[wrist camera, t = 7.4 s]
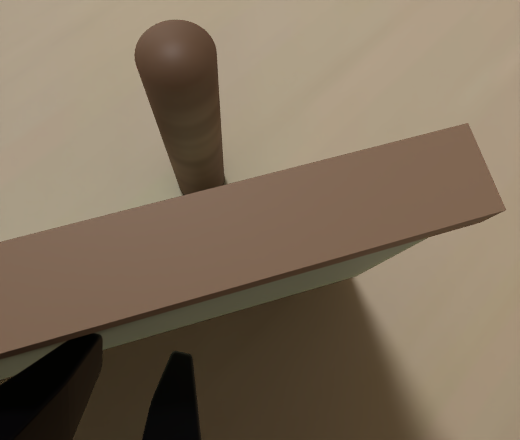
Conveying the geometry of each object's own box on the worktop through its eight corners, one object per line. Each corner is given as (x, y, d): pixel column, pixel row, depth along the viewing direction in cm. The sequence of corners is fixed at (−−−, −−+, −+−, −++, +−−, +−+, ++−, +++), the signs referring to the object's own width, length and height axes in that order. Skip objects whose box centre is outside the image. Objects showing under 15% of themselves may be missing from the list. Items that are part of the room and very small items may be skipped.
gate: (-161, 433, 14) (-838, 591, 5) (-164, 381, 14) (-798, 444, 6) (356, 281, 16) (506, 210, 7) (342, 239, 17) (467, 123, 8)
